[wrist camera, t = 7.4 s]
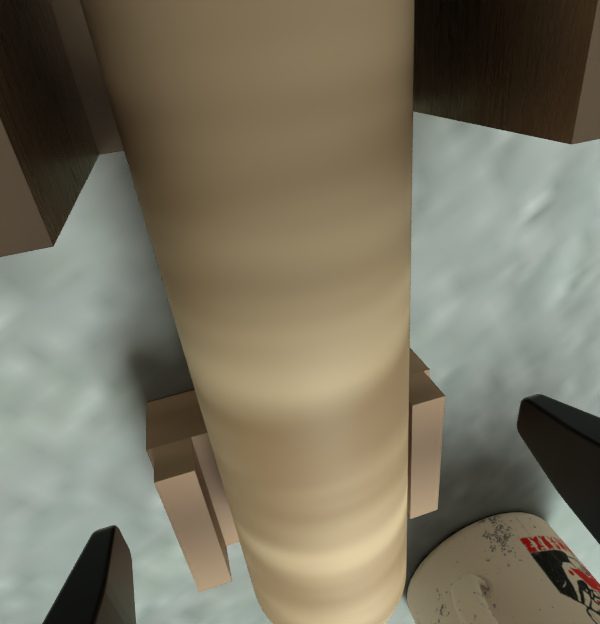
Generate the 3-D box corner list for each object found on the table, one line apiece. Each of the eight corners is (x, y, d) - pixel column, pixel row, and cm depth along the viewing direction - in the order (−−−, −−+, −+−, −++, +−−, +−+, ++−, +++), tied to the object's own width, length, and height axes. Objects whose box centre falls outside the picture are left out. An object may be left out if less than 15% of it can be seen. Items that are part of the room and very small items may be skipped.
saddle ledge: (399, 440, 18) (443, 507, 15) (185, 507, 17) (192, 594, 14) (399, 335, 16) (451, 393, 13) (146, 402, 14) (145, 485, 11)
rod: (373, 480, 15) (435, 617, 12) (243, 514, 15) (264, 671, 11) (344, -201, 7) (518, -472, 3) (52, -183, 7) (-116, -488, 3)
